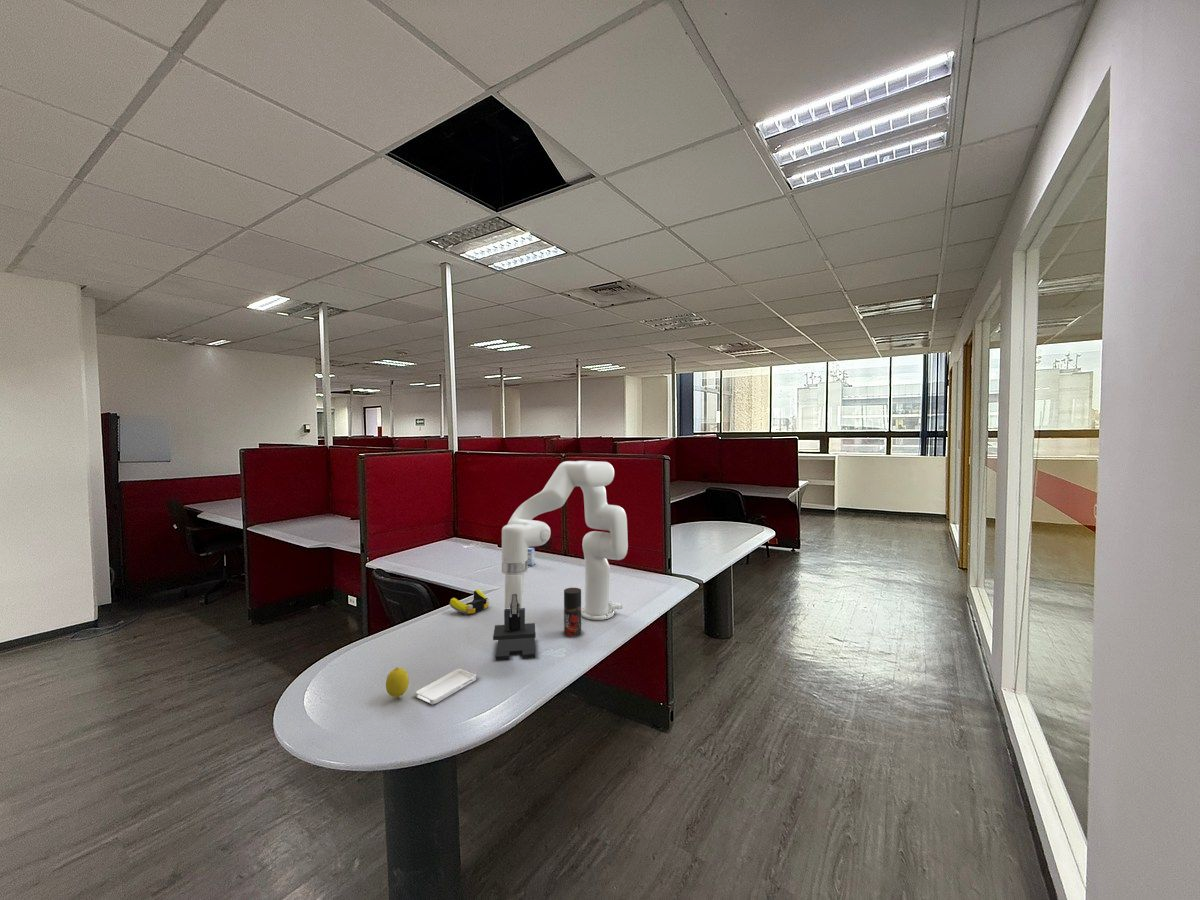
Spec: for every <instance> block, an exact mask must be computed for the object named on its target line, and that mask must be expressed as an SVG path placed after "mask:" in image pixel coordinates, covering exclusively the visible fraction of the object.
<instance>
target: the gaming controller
mask: <svg viewBox="0 0 1200 900" xmlns="http://www.w3.org/2000/svg"><path fill="white" fill-rule="evenodd" d="M472 599H473V600H471V601H470V602H466V603H464V602H462V601H460V600H459V599H457V598H456V597H452V598H451V599H450V601H449V606H450V607H451V609H452V610H455V611H457V612H459V613H462V614H463V615H464V616H469V615H472V614H476V613H478V612H480V611H483V610H485V609H487V608H488V606H489V605H490V604H489V603H490V602H489V601H490V598H489V597H486V596H485V594H484V593H483V592H482V591H481V590H480V589H475V590H474V591H473V598H472Z"/></svg>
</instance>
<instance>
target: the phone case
mask: <svg viewBox="0 0 1200 900" xmlns="http://www.w3.org/2000/svg"><path fill="white" fill-rule="evenodd" d="M476 680H477V674H476V673H473V672H471V671H468V670H465V669H462V668H457V669H455V670H453V671H450V672H449V673H448V674H446V675H444V676H442V677H440V678H438V679H436V680H435V681H433V682H431V683H428V684H427V685H425V686H423V687H422V688H420V689H418V690H416V691H415V698H417V699H419V700H421V701H423V702H426V703H428V704H430V705H432V706H433V705H436V704H438V703H439V702H441V701H443V700H445V699H446V698H448V697H450V696H452V695H453V694H455V693H457V692H458V691H460V690H462V689H464V688H465V687H467V686H469V685H470V684H472V683H473V682H475V681H476Z"/></svg>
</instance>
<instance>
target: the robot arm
mask: <svg viewBox="0 0 1200 900" xmlns="http://www.w3.org/2000/svg"><path fill="white" fill-rule="evenodd" d="M614 478H615V469H614V467H613V465H612V464H611V463H610V462H608V461H596V460H576V461H575V460H567V461H566V460H565V461H562V462H561V463H559V464H558V466H557V467H556V469H555V470H554V471H553V473H552V475H551V477H550V478H549V479H548V481H547V482H546V484H545V485H544V487H543V489H542V490H541V491H539V492H538V493H536V494H534V495H533V496H531V497H529V498H527V500H525V501H524V502H522V503H521V504H520V505H519V506H518V507H517V508H516V509H515V510H514V512H513V513H512V515H511V517H510V519H509V520H508V522H507V524H505V525H504V526H502V528H501V573H502V574H503V575H504V609H510V616H509V630H520V616H519V608H523V607H522V606H523V596H524V575H525V574H526V573H528V570H529V569H528V567H529V566H528V548H532V547H540V546H543V545H545V544H547V542H548V541H549V540H550V538H551V533H552V532H551V527H550V526H549V525H548V524H547V523H546V522H545V521H541V520H534V518H536V517H538V516H539V515H542V514H546V513H548V512H552V511H556V510H558V509H561V508H562V507H563V506H564V505H565V504H566V502H567V500H568V498H569V497H570V495H571V494H572V492H573V490H574V488H576V487H580V489H581V492H582V494H583V505H584V508H583V509H584V521H585V524H586V526H587V527H588V528H590V529H593V531H589V532H587V533H585V535H584V536H583V538H582V543H581V545H582V552H583V558H584V607H583V608H581V617H583V618H584V619H587V620H590V621H591V620H593V621H604V620H608V619H610V618H612V617H614V615H615V610H623V603H618V602H612V601H611V567H610V563H609V561H608V560H612V561H613V560H614V561H621V560H624V559H625V558H626V556H627V554H628V549H629V540H628V517H627V513H626V511H625V509H624V508H623V507H621V506H620V505H617V504H609V503H608V499H607V490H606V486H608V485H610V484H612V482H613V481H614ZM594 529H595V530H594ZM597 530H601V531H597ZM606 531H607V532H606ZM517 609H518V610H517Z"/></svg>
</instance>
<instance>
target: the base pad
mask: <svg viewBox="0 0 1200 900" xmlns="http://www.w3.org/2000/svg"><path fill="white" fill-rule="evenodd" d="M513 655H521V658H522V659H535V658H536V637H535V638H522V639H506V640H497V645H496V652H495V661H505V660H510V656H513Z"/></svg>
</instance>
